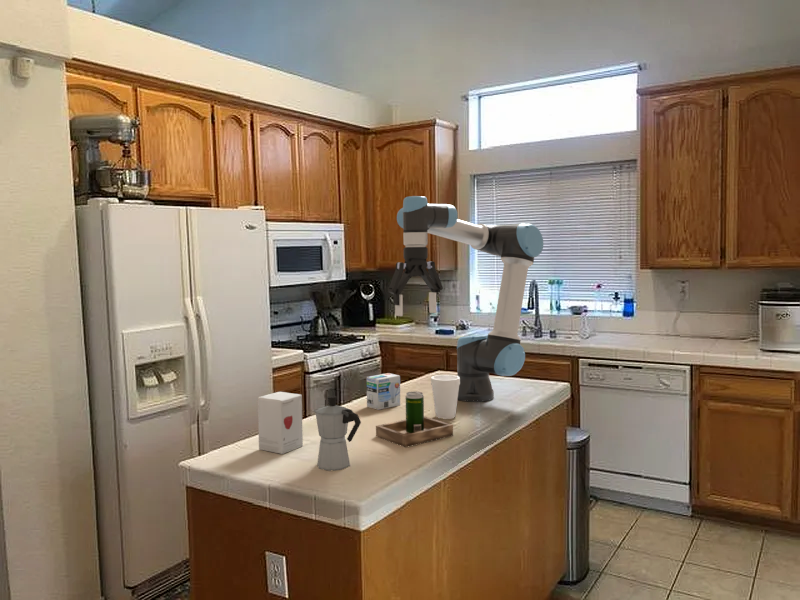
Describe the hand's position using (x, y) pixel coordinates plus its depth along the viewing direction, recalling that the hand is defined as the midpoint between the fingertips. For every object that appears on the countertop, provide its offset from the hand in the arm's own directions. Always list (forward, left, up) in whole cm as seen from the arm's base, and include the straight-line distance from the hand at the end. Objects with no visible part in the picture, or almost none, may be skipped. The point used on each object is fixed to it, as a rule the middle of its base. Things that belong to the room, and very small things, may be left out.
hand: (416, 314), depth 207 cm
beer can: (+10, +11, -34) cm, 37 cm away
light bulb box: (-5, -25, -35) cm, 43 cm away
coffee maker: (+42, +19, -35) cm, 58 cm away
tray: (+10, +11, -35) cm, 38 cm away
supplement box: (+46, -4, -35) cm, 58 cm away
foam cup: (-12, 0, -35) cm, 37 cm away
